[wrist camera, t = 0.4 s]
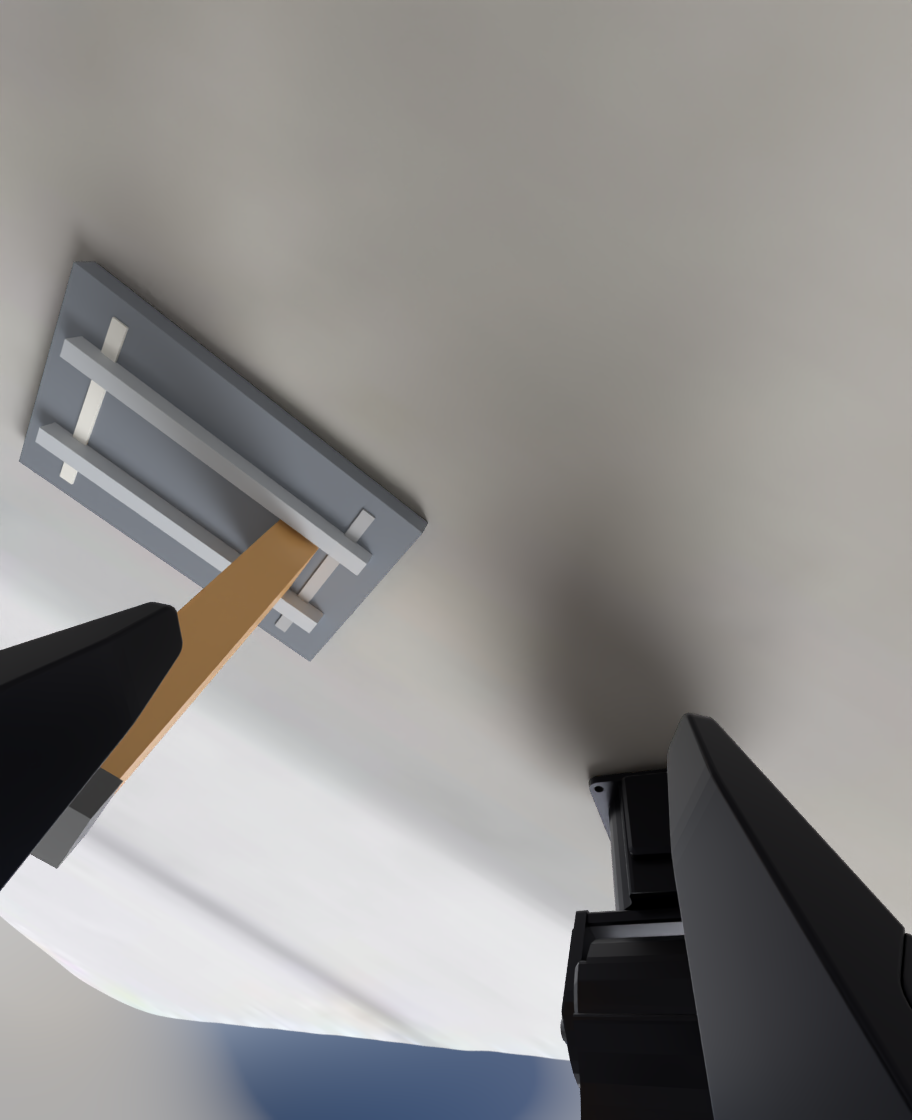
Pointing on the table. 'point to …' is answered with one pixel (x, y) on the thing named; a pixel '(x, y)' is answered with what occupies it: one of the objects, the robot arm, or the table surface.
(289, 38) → the table surface
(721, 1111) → the robot arm
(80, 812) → the tan wooden bar
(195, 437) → the board
